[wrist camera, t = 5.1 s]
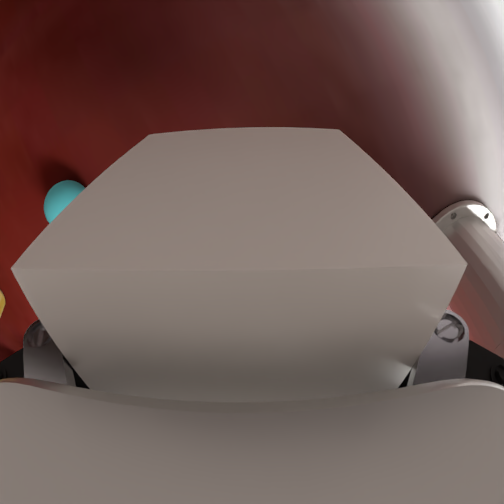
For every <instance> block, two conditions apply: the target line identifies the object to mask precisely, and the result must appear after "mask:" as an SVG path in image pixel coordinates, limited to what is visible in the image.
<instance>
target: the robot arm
mask: <svg viewBox="0 0 504 504" xmlns="http://www.w3.org/2000/svg"><path fill="white" fill-rule="evenodd" d="M432 221H433V222H434V223H435V224H436V225H437V226H438V228H439V229H440V230H441V231H442V232H443V234H444V235H445V236H446V237H447V238H448V240H449V241H450V242H451V243H452V245H453V246H454V247H455V248H456V250H457V251H458V252H459V253H460V255H461V256H462V257H463V259H464V260H465V261H466V262H467V267H466V269H465V271H464V273H463V276H462V278H461V280H460V282H459V284H458V286H457V289H456V291H455V293H454V295H453V297H452V299H451V301H450V303H449V306H450V308H451V309H452V311H453V312H452V311H450V310H446V311H445V313H444V314H443V316H442V318H441V320H440V322H439V324H438V325H437V327H436V329H435V331H434V333H433V334H432V336H431V338H430V339H429V341H428V343H427V344H426V346H425V348H424V349H423V351H422V353H421V354H420V356H419V357H418V359H417V361H416V362H415V364H414V365H413V367H412V368H411V370H410V371H409V373H408V374H407V376H406V377H405V379H404V380H403V382H402V383H401V384H400V386H399V387H398V388H397V389H391V390H385V391H378V392H371V393H365V394H358V395H350V396H342V397H333V398H323V399H312V400H299V401H281V402H198V401H181V400H168V399H157V398H147V397H138V396H130V395H123V394H116V393H109V392H103V391H97V390H91V389H90V388H89V387H88V386H87V385H86V383H85V382H84V381H83V380H82V379H81V377H80V376H79V375H78V374H77V372H76V371H75V370H74V368H73V367H72V366H71V364H70V363H69V362H68V360H67V359H66V358H65V356H64V355H63V354H62V352H61V351H60V349H59V348H58V347H57V345H56V344H55V342H54V341H53V339H52V338H51V336H50V335H49V333H48V332H47V330H46V329H45V327H44V326H43V324H42V323H41V321H40V320H37V321H35V322H34V323H33V324H31V325H30V327H29V328H28V329H27V330H26V333H25V335H24V339H23V348H22V349H20V350H19V351H17V352H16V353H14V354H12V355H11V356H9V357H8V358H6V359H5V360H3V361H1V362H0V504H504V242H503V240H502V239H501V238H500V237H499V236H498V235H497V234H496V222H495V219H494V216H493V215H492V213H491V211H490V210H489V209H488V208H487V207H486V206H484V205H483V204H481V203H480V202H477V201H474V200H465V201H460V202H457V203H454V204H452V205H450V206H448V207H447V208H445V209H444V210H442V211H441V212H440V213H439V214H438V215H436V216H435V217H434V218H433V219H432Z"/></svg>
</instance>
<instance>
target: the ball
mask: <svg viewBox="0 0 504 504" xmlns="http://www.w3.org/2000/svg"><path fill="white" fill-rule="evenodd" d="M84 189H85V187H84V186H82V185H81V184H80V183H78V182H76V181H72V180H65V181H61V182H59V183H57V184H55V185H54V186H53V187H52V188H51V189H50V190H49V192H48V193H47V196H46V198H45V202H44V212H45V216H46V219H47V220H48V222H49V223H51V222H52V221H53V220H54V219H55V218H56V217H57V216H58V215H59V214H60V213H61V212H62V211H63V210H64V208H65V207H66V206H68V205H69V204H70V203H71V202H72V201H73V200H74V199H75V198H76V197H77V196H78V195H79V194H80V193H81V192H82V191H83V190H84Z"/></svg>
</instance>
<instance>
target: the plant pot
mask: <svg viewBox="0 0 504 504" xmlns="http://www.w3.org/2000/svg"><path fill="white" fill-rule="evenodd" d="M4 306H5V298H4V295H3V293H2V291H1V290H0V317H1V314H2V311H3V308H4Z"/></svg>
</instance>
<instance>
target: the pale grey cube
mask: <svg viewBox="0 0 504 504" xmlns="http://www.w3.org/2000/svg"><path fill="white" fill-rule="evenodd" d="M466 267H467V262H466V261H465V260H464V259H463V257H462V256H461V255H460V253H459V252H458V251H457V250H456V248H455V247H454V246H453V245H452V243H451V242H450V241H449V240H448V238H447V237H446V236H445V235H444V234H443V232H442V231H441V230H440V229H439V228H438V226H437V225H436V224H435V223H434V222H433V221H432V220H431V218H430V217H429V216H428V215H427V214H426V213H425V212H424V211H423V209H422V208H421V207H420V206H419V205H418V204H417V203H416V202H415V201H414V200H413V199H412V198H411V197H410V196H409V194H408V193H407V192H406V191H405V190H404V189H403V188H402V187H401V186H400V185H399V184H398V183H397V182H396V181H395V180H394V179H393V178H392V177H391V176H390V175H389V174H388V173H387V172H386V171H385V170H384V169H383V168H382V167H381V166H379V165H378V164H377V163H376V162H375V161H374V160H373V159H372V158H371V157H370V156H369V155H368V154H367V153H365V152H364V151H363V150H362V149H361V148H360V147H359V146H358V145H357V144H355V143H354V142H353V141H352V140H351V139H350V138H348V137H347V136H346V135H345V134H344V133H343V132H341V131H340V130H339V129H322V128H295V127H247V128H220V129H203V130H190V131H179V132H168V133H159V134H151V135H148V136H147V137H146V138H144V139H143V140H142V141H141V142H139V143H138V144H137V145H135V146H134V147H133V148H132V149H130V150H129V151H128V152H127V153H125V154H124V155H123V156H122V157H121V158H119V159H118V160H117V161H116V162H115V163H113V164H112V165H111V166H110V167H109V168H108V169H106V170H105V171H104V172H103V173H102V174H101V175H100V176H98V177H97V178H96V179H95V180H94V181H93V182H92V183H91V184H90V185H88V186H87V187H86V188H85V189H84V190H83V191H82V192H81V193H80V194H79V195H78V196H77V197H76V198H75V199H74V200H73V201H72V202H71V203H70V204H69V205H68V206H66V207H65V208H64V210H63V211H62V212H61V213H60V214H59V215H58V216H57V217H56V218H55V219H54V220H53V221H52V222H51V223H50V224H49V225H48V226H47V227H46V228H45V229H44V230H43V231H42V233H41V234H40V235H39V236H38V237H37V238H36V239H35V240H34V242H33V243H32V244H31V245H30V246H29V247H28V248H27V250H26V251H25V252H24V253H23V254H22V255H21V257H20V258H19V259H18V260H17V262H16V263H15V264H14V265H13V266H12V268H11V270H12V272H13V274H14V276H15V278H16V279H17V281H18V283H19V285H20V287H21V289H22V291H23V292H24V294H25V296H26V298H27V300H28V301H29V303H30V305H31V306H32V308H33V310H34V311H35V313H36V315H37V316H38V318H39V320H40V321H41V323H42V324H43V326H44V327H45V329H46V330H47V332H48V333H49V335H50V336H51V338H52V339H53V341H54V342H55V344H56V345H57V347H58V348H59V349H60V351H61V352H62V354H63V355H64V356H65V358H66V359H67V360H68V362H69V363H70V364H71V366H72V367H73V368H74V370H75V371H76V372H77V374H78V375H79V376H80V377H81V379H82V380H83V381H84V382H85V383H86V385H87V386H88V387H89V388H90V389H91V390H97V391H103V392H109V393H116V394H123V395H130V396H138V397H147V398H157V399H168V400H181V401H198V402H281V401H299V400H312V399H323V398H333V397H342V396H350V395H358V394H365V393H371V392H378V391H385V390H391V389H397V388H398V387H399V386H400V384H401V383H402V382H403V380H404V379H405V377H406V376H407V374H408V373H409V371H410V370H411V368H412V367H413V365H414V364H415V362H416V361H417V359H418V357H419V356H420V354H421V353H422V351H423V349H424V348H425V346H426V344H427V343H428V341H429V339H430V338H431V336H432V334H433V333H434V331H435V329H436V327H437V325H438V324H439V322H440V320H441V318H442V316H443V314H444V313H445V311H446V309H447V307H448V305H449V303H450V301H451V299H452V297H453V295H454V293H455V291H456V289H457V286H458V284H459V282H460V280H461V278H462V276H463V273H464V271H465V269H466Z"/></svg>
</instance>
